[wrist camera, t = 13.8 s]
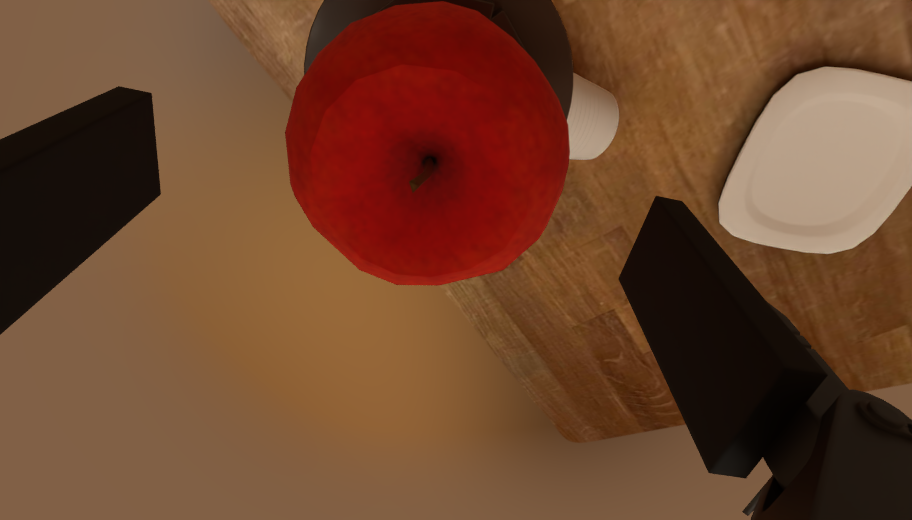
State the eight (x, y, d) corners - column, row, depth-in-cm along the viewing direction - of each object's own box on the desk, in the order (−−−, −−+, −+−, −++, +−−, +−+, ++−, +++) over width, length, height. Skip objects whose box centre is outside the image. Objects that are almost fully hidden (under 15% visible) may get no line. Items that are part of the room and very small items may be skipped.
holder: (372, 72, 48) (291, 196, 25) (391, -81, 42) (306, -100, 19) (499, 99, 49) (532, 242, 26) (536, -45, 43) (620, -22, 20)
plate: (781, 50, 47) (791, 54, 45) (962, 91, 49) (977, 96, 47) (694, 226, 56) (700, 234, 55) (848, 255, 58) (858, 263, 56)
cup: (554, 133, 54) (457, 109, 49) (611, 47, 47) (504, 10, 42) (585, 203, 48) (477, 183, 44) (655, 117, 41) (536, 83, 37)
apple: (572, 34, 22) (651, 105, 13) (490, 208, 27) (505, 353, 17) (371, -55, 21) (298, -47, 11) (318, 145, 25) (234, 269, 16)
